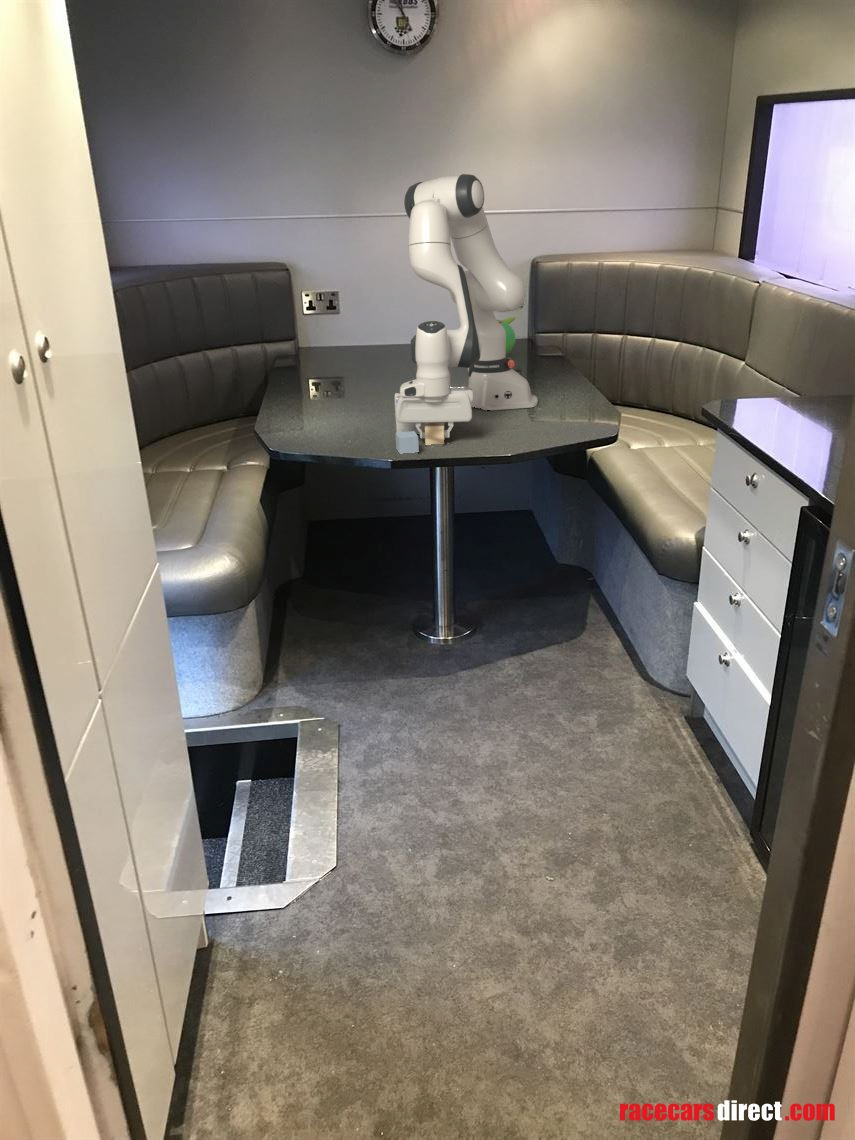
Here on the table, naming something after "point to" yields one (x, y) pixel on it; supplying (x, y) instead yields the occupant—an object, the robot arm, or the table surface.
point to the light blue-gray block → (407, 442)
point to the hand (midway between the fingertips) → (434, 437)
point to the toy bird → (508, 333)
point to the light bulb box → (406, 426)
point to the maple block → (434, 433)
